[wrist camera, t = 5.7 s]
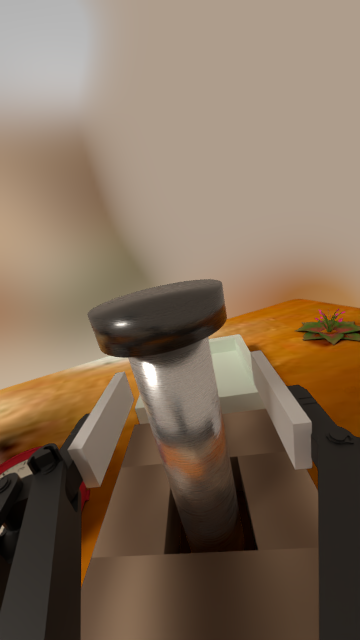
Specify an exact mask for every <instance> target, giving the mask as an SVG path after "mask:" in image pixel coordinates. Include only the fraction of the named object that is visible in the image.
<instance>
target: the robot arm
mask: <svg viewBox="0 0 360 640" xmlns="http://www.w3.org/2000/svg"><path fill="white" fill-rule="evenodd" d="M250 354H251V363H252V372H253V381H254V384H255V387H256V389H257V391H258V393H259V395H260V397H261V399H262V401H263V403H264V405H265V408H266V410H267V412H268V414H269V416H270V418H271V420H272V422H273V424H274V426H275V428H276V431H277V433H278V435H279V437H280V439H281V441H282V443H283V445H284V447H285V449H286V451H287V454H288V456H289V458H290V460H291V462H292V464H293V466H294V468H295V470H296V469H307V468H312V460H313V462H314V463H315V465H316V467H317V468H318V554H319V640H360V438H359V437H355V436H353V435H352V434H351V433H350V432H349V431H347V430H346V429H344V428H342V427H339V426H337V425H336V424H335V423H334V422H333V421H332V419H331V418H330V417H329V416H328V415H327V413H326V412H325V411H324V410H323V409H322V407H321V406H320V405H319V404H318V403H317V401H316V400H315V399H314V398H313V397H312V396H311V394H310V393H309V392H308V391H307V390H306V389H304V388H303V387H301V386H300V385H293V386H286V385H285V384H284V382H283V381H282V379H281V378H280V377H279V375H278V374H277V372H276V371H275V370H274V368H273V367H272V365H271V364H270V363H269V361H268V360H267V358H266V357H265V356H264V354H263V353H262V351H261V350H259V351H253V352H250ZM133 401H134V398H133V395H132V392H131V389H130V386H129V383H128V380H127V377H126V374H125V372H120V373H115V375H114V377H113V378H112V380H111V381H110V383H109V385H108V386H107V388H106V389H105V391H104V392H103V394H102V396H101V397H100V399H99V400H98V402H97V404H96V405H95V407H94V408H93V410H92V412H91V413H89V414H86V415H84V416H83V417H82V418H81V419H80V420H79V421H78V423H77V424H76V426H75V427H74V429H73V430H72V432H71V435H69V436H68V438H67V439H66V441H65V442H64V444H63V445H62V447H61V448H60V450H59V449H58V447H57V445H56V444H54V443H52V444H47V445H44V446H43V447H41V448H39V449H38V450H37V451H35V452H34V453H33V454H32V455H31V456H30V458H29V459H28V461H27V465H28V467H29V468H30V470H31V472H32V473H33V474H30V475H28V476H25V477H23V478H20V476H19V475H18V474H17V473H15V472H14V473H9V474H7V475H5V476H3V477H2V478H0V529H1V527H2V525H3V527H4V529H3V531H2V533H1V534H0V640H81V491H80V489H79V488H80V485H81V483H82V481H83V482H84V483H85V485H86V487H87V488H92V487H100V486H101V483H102V481H103V478H104V476H105V473H106V470H107V468H108V465H109V463H110V460H111V458H112V455H113V453H114V450H115V447H116V445H117V442H118V440H119V437H120V435H121V432H122V429H123V427H124V424H125V422H126V419H127V417H128V414H129V411H130V409H131V406H132V404H133Z"/></svg>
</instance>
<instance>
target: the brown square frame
mask: <svg viewBox="0 0 360 640" xmlns="http://www.w3.org/2000/svg"><path fill="white" fill-rule="evenodd" d="M222 417H223V423H224V428H225V434H226V439H227V445H228V450H229V456H230V461H231V467H232V472H233V478H234V483H235V489H236V491H243V493H244V498H245V502H246V507H247V512H248V516H249V521H250V526H251V530H252V535H253V539H254V544H255V549H256V550H253V551H231V552H209V553H187V554H180V542H181V519H180V515H179V512H178V509H177V506H176V503H175V500H174V497H173V494H172V491H171V488H170V485H169V482H168V478H167V475H166V472H165V469H164V466H163V463H162V460H161V457H160V454H159V451H158V448H157V445H156V441H155V438H154V435H153V432H152V429H151V426H150V423H145V424H137V425H135V426H134V429H133V432H132V435H131V438H130V441H129V444H128V447H127V450H126V453H125V456H124V460H123V463H122V466H121V469H120V472H119V475H118V478H117V481H116V484H115V487H114V490H113V493H112V496H111V499H110V502H109V505H108V508H107V511H106V514H105V517H104V520H103V524H102V527H101V530H100V533H99V536H98V539H97V542H96V545H95V548H94V551H93V554H92V557H91V560H90V563H89V566H88V569H87V572H86V575H85V578H84V581H83V584H82V587H81V640H319V554H318V490H317V488H316V486H315V484H314V483H313V481H312V479H311V477H310V475H309V473H308V471H307V469H296V470H295V468H294V466H293V464H292V462H291V460H290V458H289V456H288V454H287V451H286V449H285V447H284V445H283V443H282V441H281V439H280V437H279V435H278V433H277V431H276V428H275V426H274V424H273V422H272V420H271V418H270V416H269V414H268V412H267V410H266V409H258V410H250V411H242V412H234V413H226V414H222Z"/></svg>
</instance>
